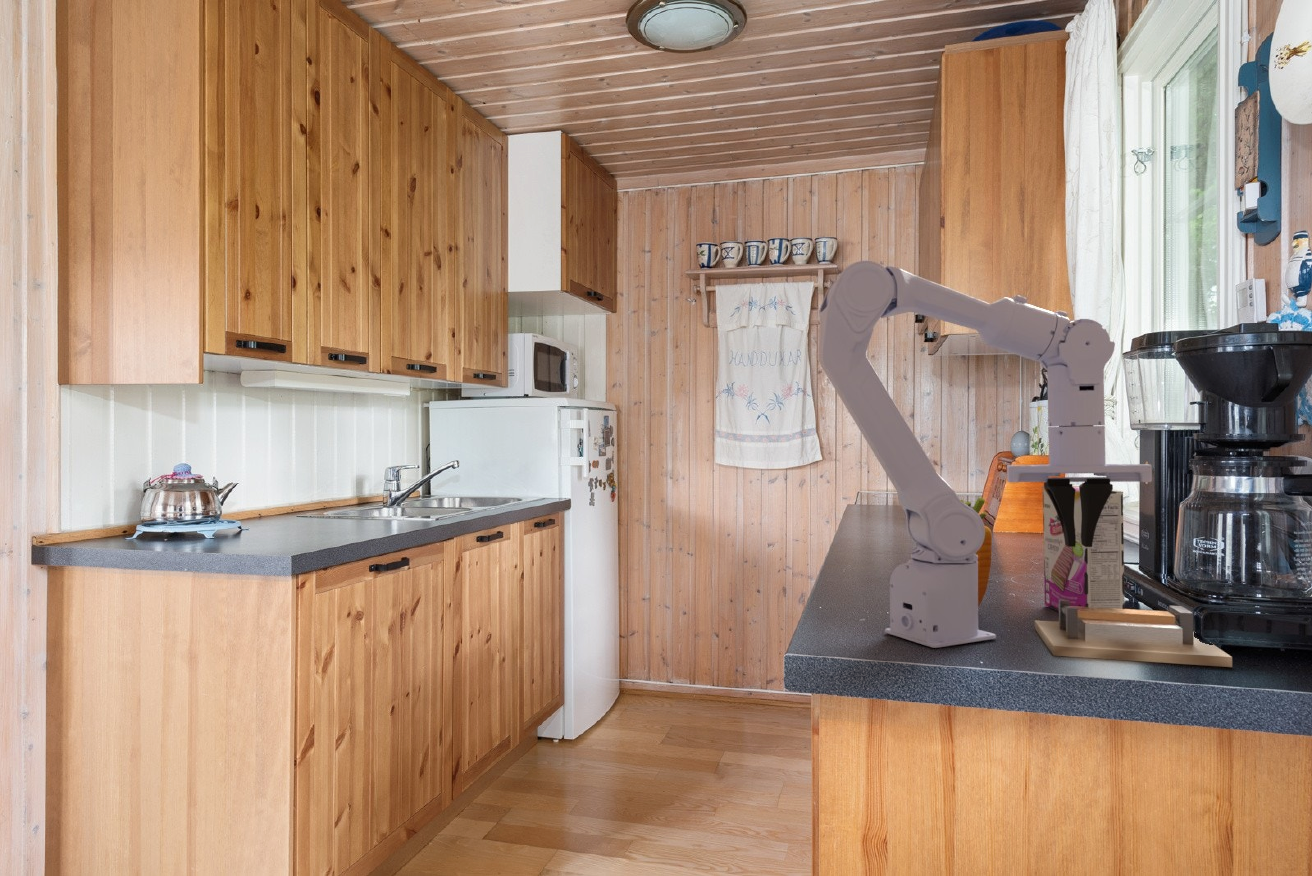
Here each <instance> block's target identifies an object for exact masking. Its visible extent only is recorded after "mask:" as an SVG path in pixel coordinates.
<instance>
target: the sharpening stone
mask: <svg viewBox="0 0 1312 876" xmlns="http://www.w3.org/2000/svg"><path fill="white" fill-rule="evenodd" d="M1064 605H1067V606H1070V601H1069V600H1060V599H1059V612H1058V622H1059V629H1060V630H1066V637H1067V639H1078V635H1079V636H1080V637H1081V638H1082V639H1083V640H1084V641H1085V642H1090V643H1107V644H1123V645H1140V646H1156V647H1173V648H1183V644H1187V645H1194V632H1195V631H1194V629H1195V628H1194V613H1193V612H1192V611H1190V610H1189V609H1187V608H1185V607H1184V606H1183V605H1169V606H1168V612H1169V613H1171V614H1172V615H1174V616H1175V624H1171V623H1152V622H1134V621H1117V620H1100V619H1083V618H1078V609H1077V608H1076V607H1066V615H1065V614H1064V613H1063V612H1062V610H1061V608H1062V607H1063V606H1064Z"/></svg>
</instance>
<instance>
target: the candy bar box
mask: <svg viewBox="0 0 1312 876" xmlns="http://www.w3.org/2000/svg"><path fill="white" fill-rule="evenodd" d="M1080 485H1081V484H1072V487H1073V488H1075V489H1076V490H1075V503H1074V524H1075V535H1076V545H1075V547H1068V546H1067V545H1065V539H1064V534H1063V530H1062V526H1061V523H1060V520H1059V517H1058V514H1057V512H1056V510H1055V507H1054V505H1053V503H1052V501H1051V499H1050V497H1049V495H1048V493H1047V492H1046V490H1045V487H1044V485H1042V513H1043V514H1042V519H1043V520H1042V523H1043V530H1042V531H1043V565H1044V566H1043V567H1044V568H1043V570H1044V571H1043V575H1044V577H1043V578H1044V606H1046V607H1048V608H1051V609H1053V610H1055V611H1056V612H1058V613H1059V599H1060V600H1069V601H1070V606H1080V607H1098V608H1116V609H1126V607H1125V601H1126V600H1125V558H1124V557H1125V552H1124V551H1125V548H1124V547H1125V545H1124V544H1125V543H1124V535H1125V534H1124V498H1123V497H1124V492H1123V491H1122V490H1117V489H1113V490H1112V493H1111V495H1110V496H1109V498H1108V500H1107V502H1106V504H1105V506H1104V508H1103V510H1102V512H1101V514H1100V517H1099V520H1098V522H1097V525H1096V529H1095V533H1094V537H1093V544H1092V547H1085V546H1083V545H1082V544H1081V521H1082V512H1081V499H1080V490H1079V486H1080Z"/></svg>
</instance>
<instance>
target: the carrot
mask: <svg viewBox="0 0 1312 876" xmlns="http://www.w3.org/2000/svg"><path fill="white" fill-rule="evenodd" d="M960 500H961V501H962V502H963V503H964V504H966V505H967V506H969V507H971V508H972V506H971V505H972V502H970V501H967V502H965V501H964V500H963V499H960ZM985 500H986V499H985V498H983V497H978V498H977V500H976V501H975V503H974V505H973V508H972V509H974V510H975V511H976V512H977V513H978V514H979V515H980V517H981V519H982V520H983V519H984V518H986V516H987V515H988V514H987V513H986V512H983V513H980V511H981V510H982V508H983V506H984V504H985V502H986V501H985ZM984 527H985V537H984V541H983V544H982V546H981V547H980V549H979V550H978V551H977V552H976V553H975V554H976V555H977V556H978V560H977V561H978V608H979V607H980V605H981V603H982V601H983V599H984V597H985V594H986V591H987V589H988V583H989V579H990V573H991V565H992V552H993V550H992V548H993V547H992V546H993V545H992V543H993V535H992V530H991V528H990V527H988V526H986V525H985V524H984Z"/></svg>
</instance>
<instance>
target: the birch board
mask: <svg viewBox="0 0 1312 876" xmlns="http://www.w3.org/2000/svg"><path fill="white" fill-rule="evenodd" d="M1034 630H1035V631H1036V633H1037V634H1038V635H1039V637H1040V638H1041V640H1042V641H1043V643H1044V644H1045V645H1046V647H1047V648H1048V650H1049V651H1050V652H1051V654H1052V656H1055V657H1072V658H1084V659H1085V658H1087V659H1102V660H1117V661H1118V660H1120V661H1131V662H1132V661H1133V662H1149V663H1162V664H1163V663H1164V664H1178V665H1194V666H1195V665H1196V666H1210V667H1223V668H1224V667H1225V668H1226V667H1227V668H1233V656H1231V654H1228V653H1227V652H1225V651H1224V650H1223V649H1221V648H1219V647H1217V645H1215V644H1213V645H1209V644H1205V643H1202V642H1200V641H1199V639H1197V638H1195V637H1194V645H1187V644H1183V648H1173V647H1156V646H1140V645H1123V644H1107V643H1090V642H1085V641H1084V640H1083V639H1082V638H1081V637H1080V636H1079V635H1078V639H1067V637H1066V630H1060V629H1059V621H1057V620H1056V621H1055V620H1054V621H1053V620H1038V619H1037V620H1034Z"/></svg>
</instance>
